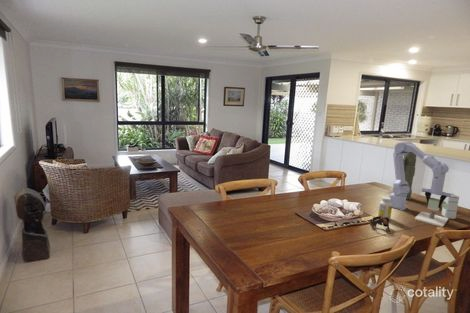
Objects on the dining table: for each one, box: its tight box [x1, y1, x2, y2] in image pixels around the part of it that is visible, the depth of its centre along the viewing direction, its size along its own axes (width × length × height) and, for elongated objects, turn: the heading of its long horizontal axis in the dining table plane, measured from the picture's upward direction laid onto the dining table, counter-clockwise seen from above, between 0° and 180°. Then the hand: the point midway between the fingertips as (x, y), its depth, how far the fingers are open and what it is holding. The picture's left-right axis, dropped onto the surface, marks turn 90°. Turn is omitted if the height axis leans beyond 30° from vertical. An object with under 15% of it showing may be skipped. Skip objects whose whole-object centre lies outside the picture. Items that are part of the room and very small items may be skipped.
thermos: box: [403, 152, 417, 201], centre depth 208 cm, size 9×12×35 cm
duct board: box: [414, 211, 449, 228], centre depth 171 cm, size 14×16×4 cm
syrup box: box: [440, 192, 460, 220], centre depth 176 cm, size 6×6×14 cm
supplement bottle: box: [377, 196, 393, 220], centre depth 170 cm, size 7×7×13 cm
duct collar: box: [426, 197, 440, 212], centre depth 170 cm, size 5×5×6 cm
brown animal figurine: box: [369, 215, 391, 234], centre depth 156 cm, size 12×10×8 cm
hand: (433, 206), depth 170 cm, fingers closed on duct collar, 5 cm apart
